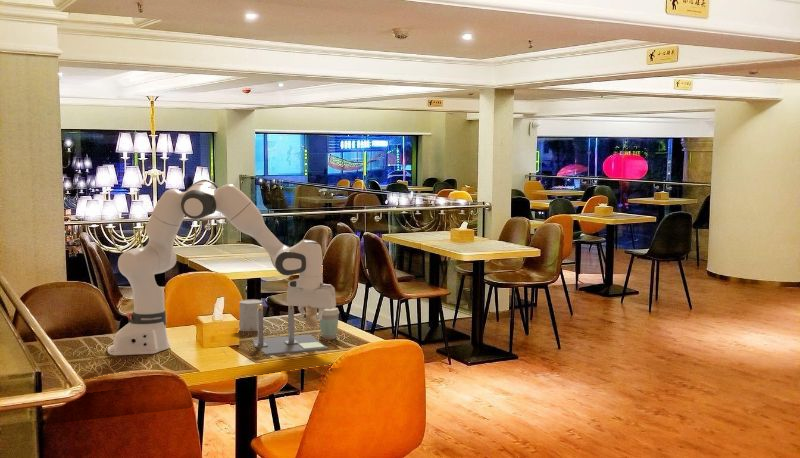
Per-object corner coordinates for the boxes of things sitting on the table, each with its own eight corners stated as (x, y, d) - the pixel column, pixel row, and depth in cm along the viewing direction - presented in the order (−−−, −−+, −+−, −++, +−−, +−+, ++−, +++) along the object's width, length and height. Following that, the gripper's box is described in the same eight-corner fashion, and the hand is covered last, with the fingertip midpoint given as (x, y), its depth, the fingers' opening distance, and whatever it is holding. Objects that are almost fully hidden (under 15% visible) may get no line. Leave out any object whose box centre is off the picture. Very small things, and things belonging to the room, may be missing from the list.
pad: (304, 349, 311) (304, 348, 311) (298, 344, 318) (298, 343, 318) (324, 347, 314) (324, 346, 314) (318, 342, 321) (318, 341, 321)
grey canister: (235, 332, 342) (235, 302, 341) (246, 327, 351) (245, 298, 350) (256, 333, 340) (256, 304, 338) (266, 328, 349) (266, 299, 347)
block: (305, 326, 313) (305, 305, 312) (306, 324, 317) (306, 303, 316) (316, 326, 313) (316, 305, 312) (317, 324, 317) (316, 303, 316)
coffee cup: (341, 336, 336) (341, 306, 335) (337, 341, 328) (337, 311, 326) (320, 335, 337) (320, 306, 336) (316, 340, 328) (316, 310, 327)
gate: (256, 347, 313) (255, 305, 311) (253, 345, 317) (253, 303, 315) (298, 344, 319) (298, 302, 317) (295, 341, 323) (295, 300, 321)
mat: (265, 355, 304) (265, 353, 304) (251, 341, 326) (251, 339, 326) (327, 349, 313) (327, 347, 313) (310, 336, 335) (310, 334, 335)
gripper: (339, 283, 312) (339, 319, 313) (293, 279, 321) (293, 314, 322) (330, 285, 306) (330, 322, 307) (284, 282, 315) (284, 317, 316)
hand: (311, 318), depth 315 cm, fingers closed on block, 5 cm apart
